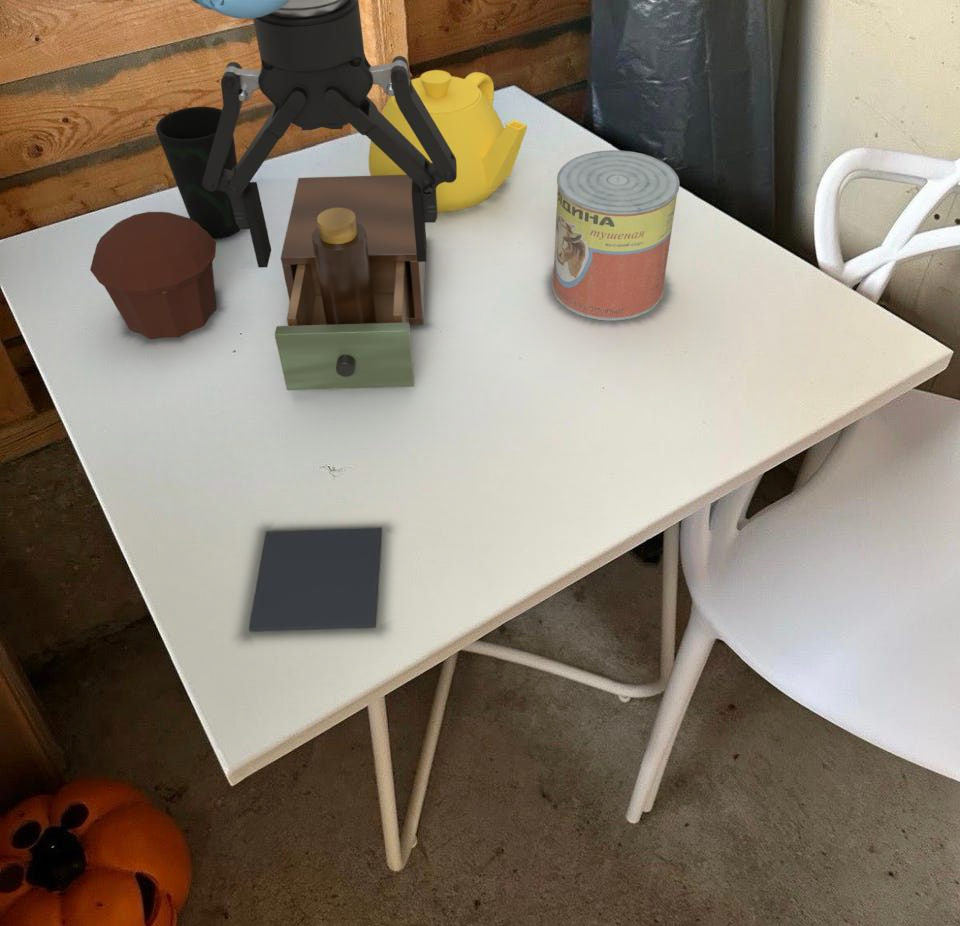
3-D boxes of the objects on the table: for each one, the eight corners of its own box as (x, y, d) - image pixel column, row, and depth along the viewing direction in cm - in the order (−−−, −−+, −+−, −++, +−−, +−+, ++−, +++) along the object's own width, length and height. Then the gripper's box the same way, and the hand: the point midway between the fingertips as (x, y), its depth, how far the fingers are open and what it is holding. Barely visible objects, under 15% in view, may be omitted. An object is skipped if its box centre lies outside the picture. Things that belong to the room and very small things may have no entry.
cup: (172, 239, 102) (141, 136, 94) (202, 204, 107) (176, 103, 99) (236, 247, 101) (211, 143, 92) (264, 211, 106) (243, 109, 97)
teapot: (342, 190, 109) (327, 82, 100) (442, 128, 119) (437, 26, 110) (477, 245, 100) (475, 133, 91) (573, 174, 111) (579, 67, 101)
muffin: (118, 359, 88) (83, 270, 81) (105, 295, 95) (72, 208, 88) (242, 328, 91) (219, 240, 84) (220, 269, 98) (198, 183, 91)
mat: (249, 631, 66) (248, 628, 66) (266, 534, 72) (265, 531, 72) (375, 627, 66) (374, 624, 66) (381, 531, 72) (381, 527, 72)
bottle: (326, 353, 85) (305, 233, 76) (331, 322, 88) (311, 203, 79) (377, 351, 85) (362, 231, 76) (379, 321, 88) (365, 202, 79)
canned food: (531, 275, 96) (534, 168, 88) (622, 245, 100) (633, 139, 91) (590, 333, 89) (600, 224, 81) (685, 299, 93) (704, 191, 84)
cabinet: (423, 324, 91) (417, 253, 85) (294, 328, 91) (280, 257, 85) (425, 242, 101) (421, 173, 95) (310, 245, 101) (298, 177, 95)
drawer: (413, 395, 82) (408, 339, 78) (285, 399, 82) (272, 343, 78) (417, 297, 92) (413, 242, 88) (303, 300, 92) (292, 246, 88)
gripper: (480, -29, 67) (486, 227, 83) (138, -17, 67) (207, 236, 83) (483, 11, 62) (488, 275, 77) (112, 24, 62) (191, 286, 77)
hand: (343, 256), depth 80 cm, fingers open, 13 cm apart
